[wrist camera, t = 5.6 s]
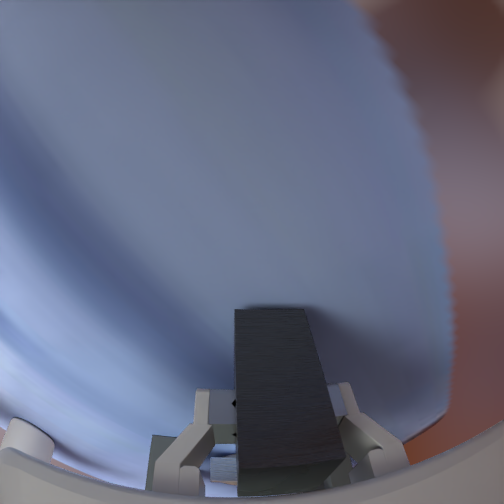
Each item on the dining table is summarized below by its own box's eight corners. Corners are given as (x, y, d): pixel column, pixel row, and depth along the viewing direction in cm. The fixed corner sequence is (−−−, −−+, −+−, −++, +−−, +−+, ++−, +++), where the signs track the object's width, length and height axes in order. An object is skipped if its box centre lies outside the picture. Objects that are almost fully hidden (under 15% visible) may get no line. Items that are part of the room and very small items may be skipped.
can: (55, 448, 24) (38, 519, 13) (14, 425, 22) (-8, 494, 11) (56, 436, 21) (34, 520, 11) (9, 409, 19) (-19, 488, 9)
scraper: (187, 308, 12) (164, 464, 6) (345, 307, 13) (404, 442, 6) (211, 459, 20) (210, 526, 14) (289, 457, 21) (298, 522, 15)
